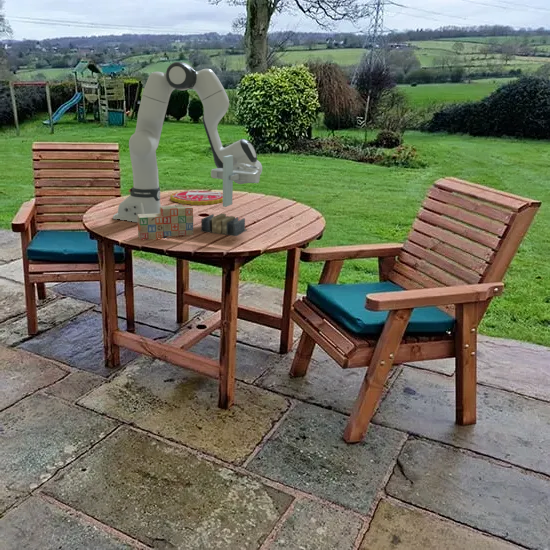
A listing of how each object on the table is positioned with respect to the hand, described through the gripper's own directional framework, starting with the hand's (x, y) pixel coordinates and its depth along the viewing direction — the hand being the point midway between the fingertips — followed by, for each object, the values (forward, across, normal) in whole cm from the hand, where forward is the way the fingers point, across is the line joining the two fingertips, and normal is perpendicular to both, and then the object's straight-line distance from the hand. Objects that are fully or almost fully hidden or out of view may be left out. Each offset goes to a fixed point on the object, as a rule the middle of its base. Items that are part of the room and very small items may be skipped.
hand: (226, 177), depth 213 cm
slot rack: (-1, -2, +24) cm, 24 cm away
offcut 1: (-1, -4, +22) cm, 23 cm away
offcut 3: (-1, +1, +22) cm, 23 cm away
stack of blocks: (+15, -20, +24) cm, 34 cm away
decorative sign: (-56, -44, +24) cm, 75 cm away
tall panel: (-1, 0, +12) cm, 12 cm away
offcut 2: (-1, -2, +22) cm, 23 cm away
